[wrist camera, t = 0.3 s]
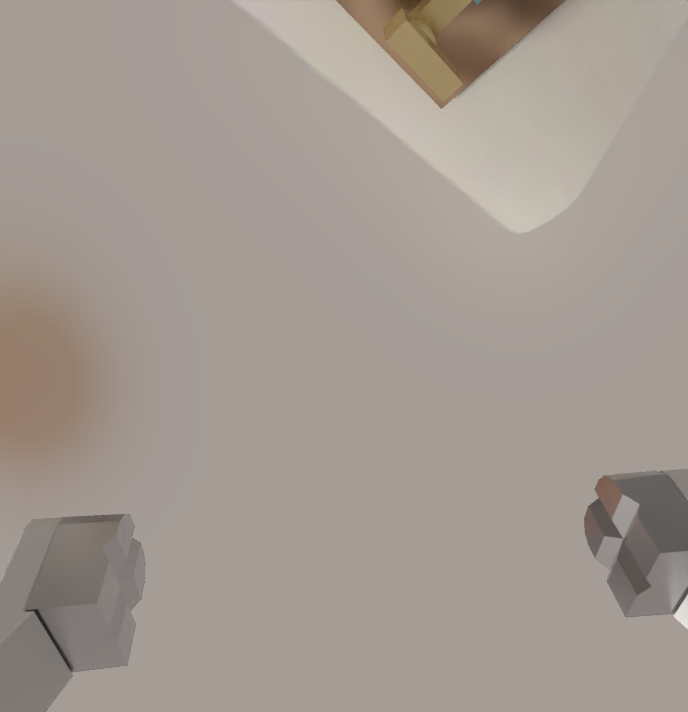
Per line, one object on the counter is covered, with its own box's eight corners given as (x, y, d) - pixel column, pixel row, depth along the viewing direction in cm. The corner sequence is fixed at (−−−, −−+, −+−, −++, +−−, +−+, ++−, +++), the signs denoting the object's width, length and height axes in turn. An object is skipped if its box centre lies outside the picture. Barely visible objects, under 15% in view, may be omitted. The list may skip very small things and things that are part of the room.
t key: (448, -103, 43) (475, -52, 37) (499, -31, 47) (530, 24, 41) (370, -15, 47) (383, 43, 42) (422, 43, 51) (441, 103, 46)
